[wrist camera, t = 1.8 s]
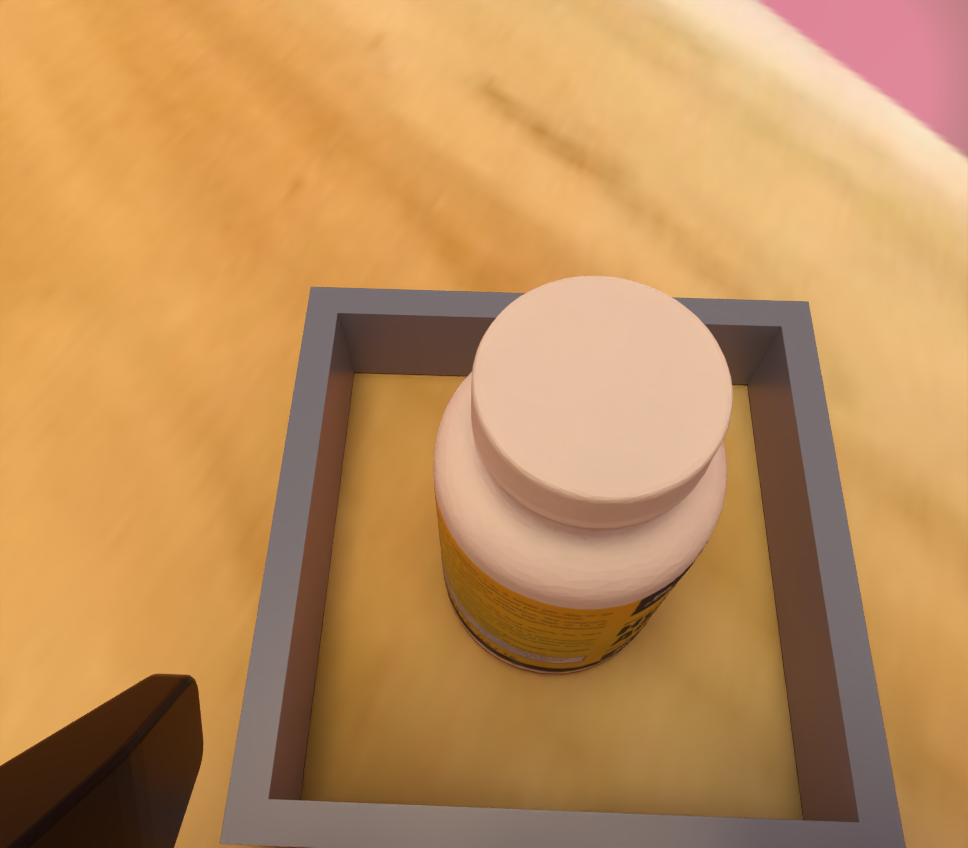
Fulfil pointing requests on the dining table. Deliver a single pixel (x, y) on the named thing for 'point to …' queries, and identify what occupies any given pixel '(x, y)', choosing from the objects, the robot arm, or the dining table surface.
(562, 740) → the dining table surface
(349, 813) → the grey square frame
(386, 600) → the dining table surface
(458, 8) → the dining table surface
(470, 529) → the supplement bottle
